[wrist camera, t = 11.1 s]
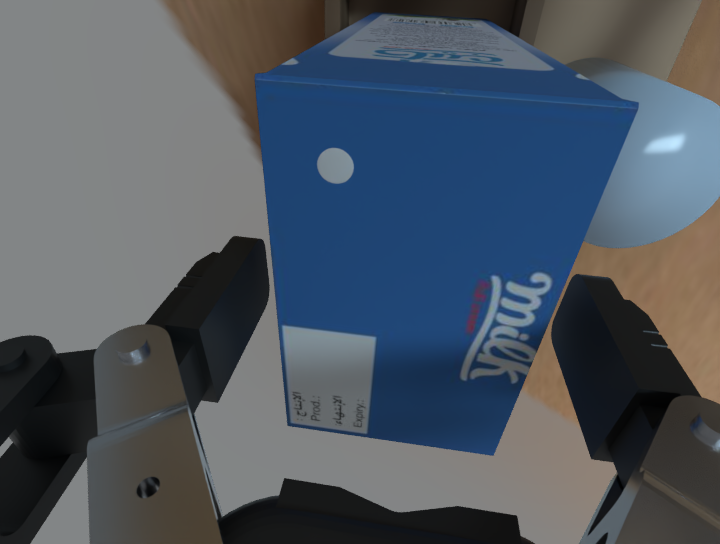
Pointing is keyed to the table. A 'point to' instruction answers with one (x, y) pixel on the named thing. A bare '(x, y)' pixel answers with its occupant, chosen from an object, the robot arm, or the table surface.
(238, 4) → the table surface
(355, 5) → the caddy
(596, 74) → the pale blue rounded block
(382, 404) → the milk carton
